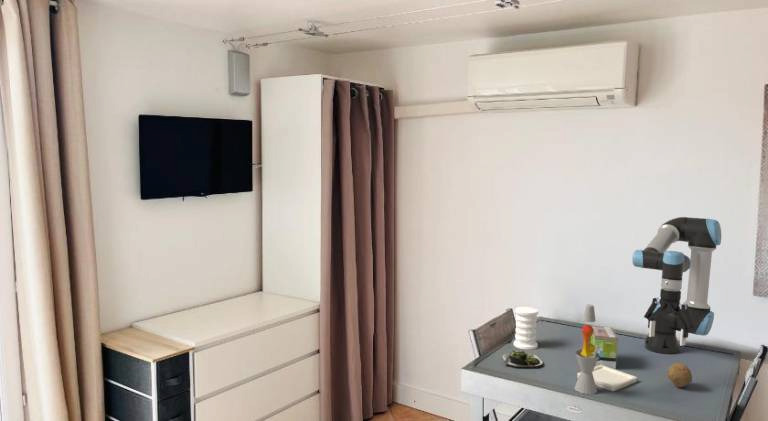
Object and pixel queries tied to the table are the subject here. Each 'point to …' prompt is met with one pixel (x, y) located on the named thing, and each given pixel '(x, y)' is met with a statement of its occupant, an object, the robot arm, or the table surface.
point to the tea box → (605, 346)
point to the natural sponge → (679, 374)
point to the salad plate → (522, 360)
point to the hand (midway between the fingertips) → (666, 340)
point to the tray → (611, 378)
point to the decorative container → (526, 328)
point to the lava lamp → (587, 356)
